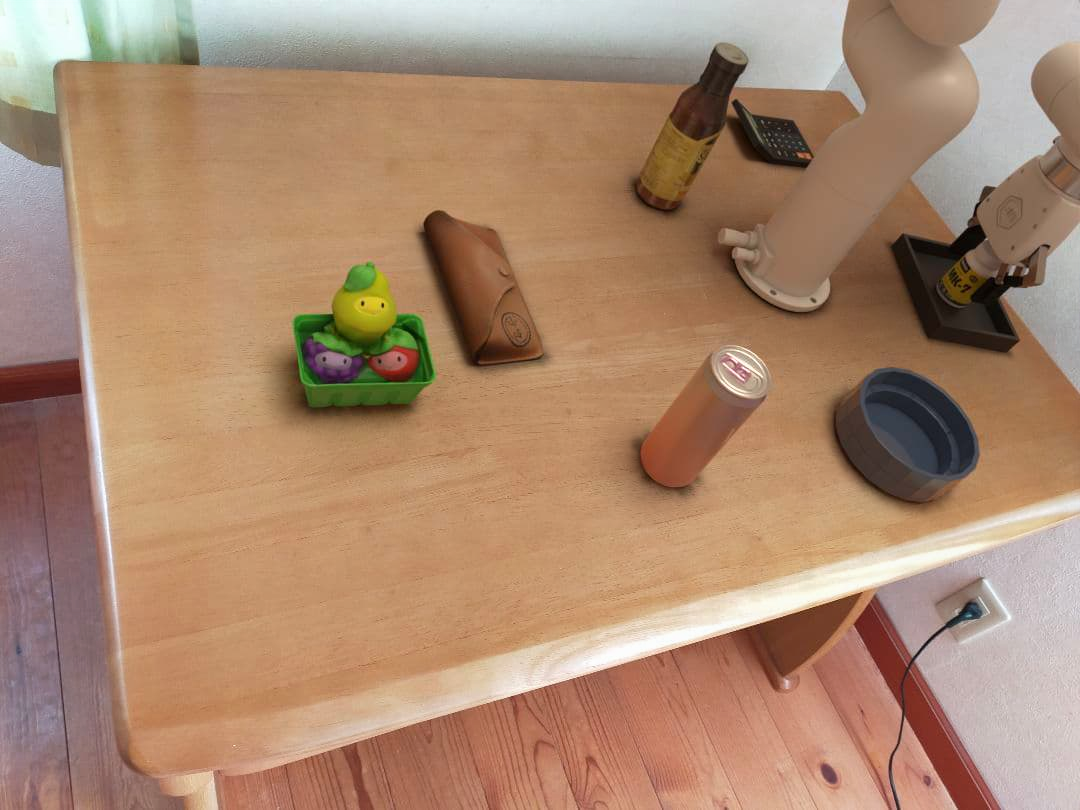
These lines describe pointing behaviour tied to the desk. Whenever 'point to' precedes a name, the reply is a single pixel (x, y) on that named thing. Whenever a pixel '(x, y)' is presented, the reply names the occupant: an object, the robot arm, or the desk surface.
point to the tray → (941, 320)
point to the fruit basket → (362, 347)
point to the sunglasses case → (483, 291)
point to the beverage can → (705, 415)
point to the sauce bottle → (691, 130)
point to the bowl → (907, 434)
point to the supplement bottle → (968, 275)
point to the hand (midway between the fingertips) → (968, 276)
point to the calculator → (775, 138)
